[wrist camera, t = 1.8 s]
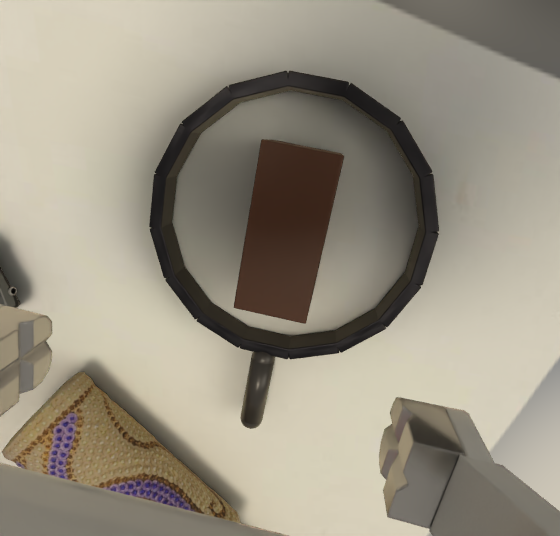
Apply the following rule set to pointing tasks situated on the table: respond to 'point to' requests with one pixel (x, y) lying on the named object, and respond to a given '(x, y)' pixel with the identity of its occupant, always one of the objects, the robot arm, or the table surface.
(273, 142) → the brown rectangular block
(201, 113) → the pan
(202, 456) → the table surface
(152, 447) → the decorative bottle
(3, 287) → the toy car
